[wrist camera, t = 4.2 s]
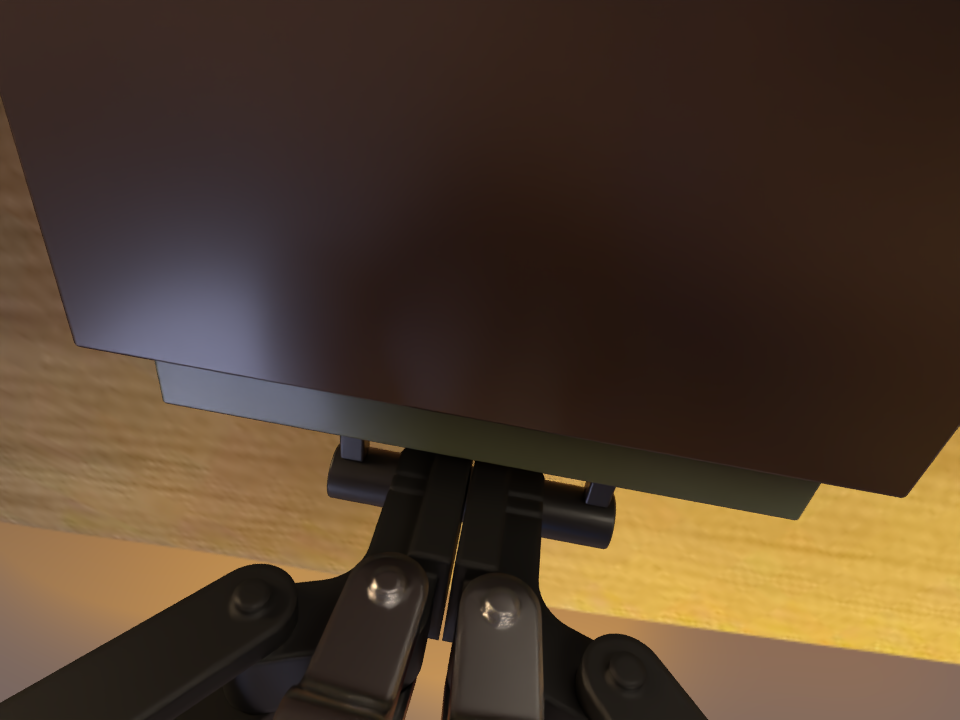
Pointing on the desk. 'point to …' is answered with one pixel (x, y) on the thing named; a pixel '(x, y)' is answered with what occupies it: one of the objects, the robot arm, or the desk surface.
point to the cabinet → (522, 210)
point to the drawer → (484, 454)
